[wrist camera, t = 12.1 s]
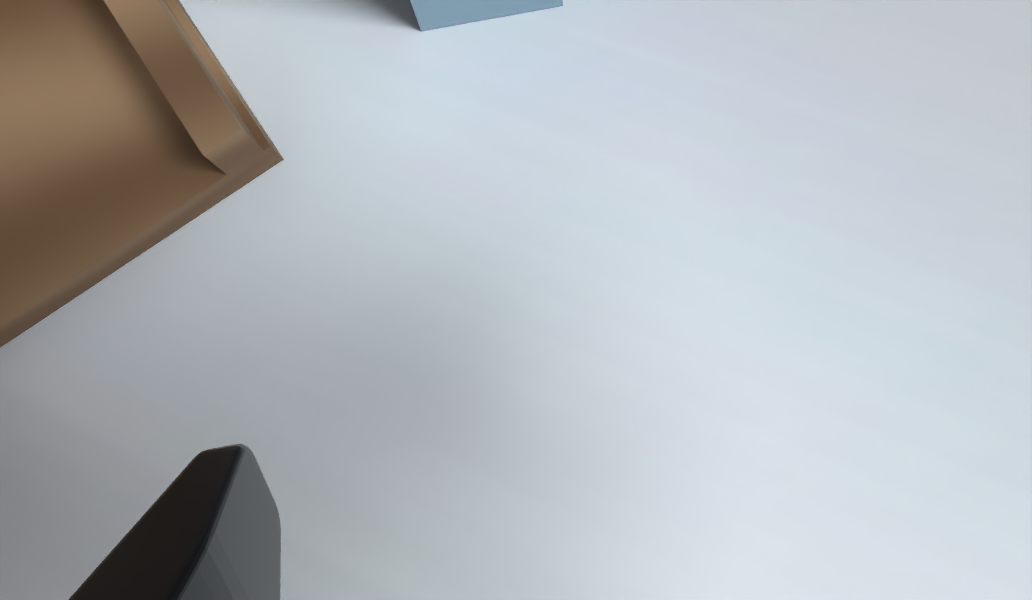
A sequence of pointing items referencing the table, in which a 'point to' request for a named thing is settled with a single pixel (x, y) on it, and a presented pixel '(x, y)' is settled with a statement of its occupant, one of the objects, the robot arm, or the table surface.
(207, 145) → the tray
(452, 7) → the light blue block
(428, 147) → the table surface
